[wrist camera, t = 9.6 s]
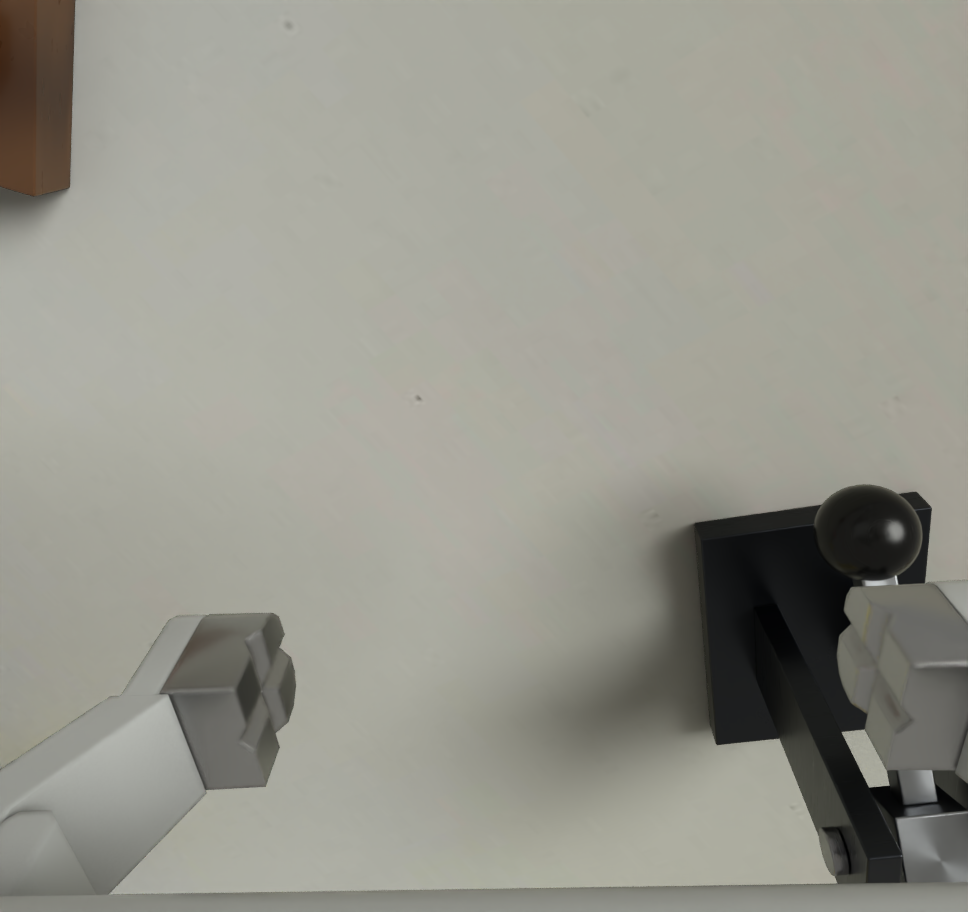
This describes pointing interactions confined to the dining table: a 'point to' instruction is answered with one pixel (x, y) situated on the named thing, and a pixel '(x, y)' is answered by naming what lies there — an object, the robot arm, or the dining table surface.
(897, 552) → the switch lever
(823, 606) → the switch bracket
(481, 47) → the dining table surface
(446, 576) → the dining table surface
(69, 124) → the button block
